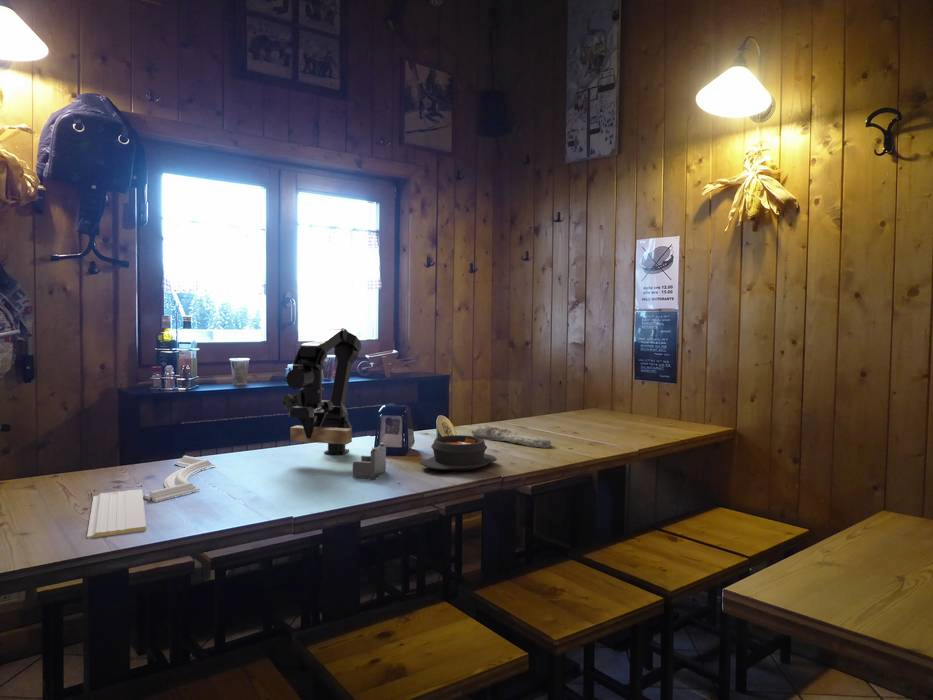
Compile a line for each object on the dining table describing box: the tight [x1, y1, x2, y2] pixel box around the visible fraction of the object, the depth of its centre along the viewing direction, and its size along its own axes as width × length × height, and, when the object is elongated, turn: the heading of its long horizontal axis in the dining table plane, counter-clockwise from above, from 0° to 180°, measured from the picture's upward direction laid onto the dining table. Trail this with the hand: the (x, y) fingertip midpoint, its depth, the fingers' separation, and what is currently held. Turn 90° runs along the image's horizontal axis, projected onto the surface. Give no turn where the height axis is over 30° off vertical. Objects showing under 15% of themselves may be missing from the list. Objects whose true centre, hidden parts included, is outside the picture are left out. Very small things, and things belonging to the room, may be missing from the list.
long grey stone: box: [470, 424, 552, 449], centre depth 231 cm, size 35×5×10 cm
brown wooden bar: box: [289, 425, 353, 445], centre depth 188 cm, size 18×4×4 cm, turn 78°
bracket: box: [352, 442, 387, 481], centre depth 178 cm, size 10×7×9 cm
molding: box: [143, 455, 215, 503], centre depth 170 cm, size 42×12×3 cm, turn 14°
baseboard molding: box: [86, 485, 147, 539], centre depth 140 cm, size 31×3×12 cm
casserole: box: [419, 434, 498, 472], centre depth 189 cm, size 25×19×8 cm
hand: (311, 436), depth 189 cm, fingers closed on brown wooden bar, 4 cm apart
